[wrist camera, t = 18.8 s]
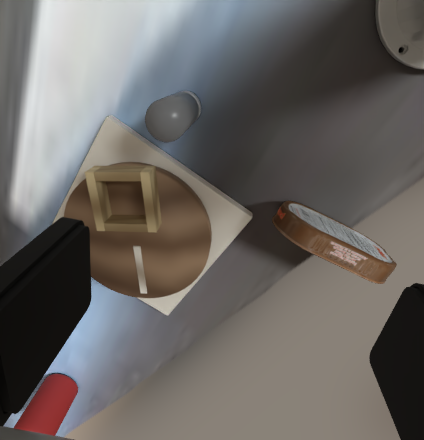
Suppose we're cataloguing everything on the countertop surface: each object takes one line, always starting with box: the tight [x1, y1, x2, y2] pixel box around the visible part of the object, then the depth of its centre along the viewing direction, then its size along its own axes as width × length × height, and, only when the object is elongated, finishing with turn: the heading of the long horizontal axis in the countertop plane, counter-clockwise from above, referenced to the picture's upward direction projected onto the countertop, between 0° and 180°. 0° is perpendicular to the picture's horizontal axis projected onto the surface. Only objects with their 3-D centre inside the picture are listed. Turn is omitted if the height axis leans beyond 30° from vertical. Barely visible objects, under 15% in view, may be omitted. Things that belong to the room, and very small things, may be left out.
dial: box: [64, 162, 212, 298], centre depth 40 cm, size 19×19×4 cm
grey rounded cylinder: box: [145, 91, 201, 142], centre depth 32 cm, size 4×4×10 cm
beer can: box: [14, 374, 78, 436], centre depth 56 cm, size 7×7×12 cm
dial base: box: [52, 115, 252, 316], centre depth 43 cm, size 21×21×2 cm
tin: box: [272, 201, 396, 284], centre depth 37 cm, size 15×3×8 cm, turn 65°
